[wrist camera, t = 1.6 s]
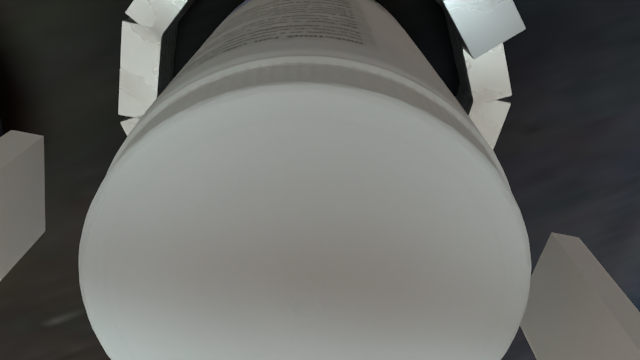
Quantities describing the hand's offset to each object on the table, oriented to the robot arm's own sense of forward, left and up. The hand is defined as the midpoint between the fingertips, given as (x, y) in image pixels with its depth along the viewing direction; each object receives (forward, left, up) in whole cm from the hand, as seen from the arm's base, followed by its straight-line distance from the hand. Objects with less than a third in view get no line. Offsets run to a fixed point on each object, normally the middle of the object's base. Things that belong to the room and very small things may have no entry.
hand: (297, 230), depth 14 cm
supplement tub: (0, 0, -12) cm, 12 cm away
